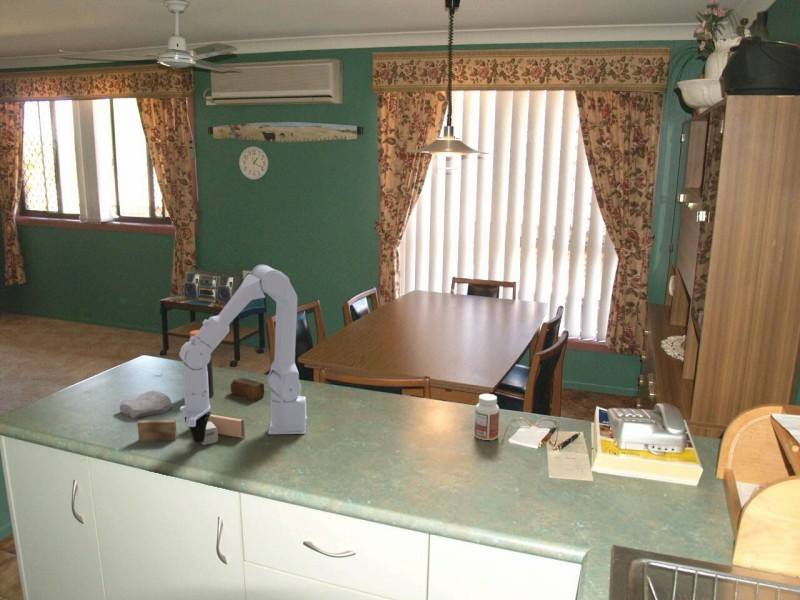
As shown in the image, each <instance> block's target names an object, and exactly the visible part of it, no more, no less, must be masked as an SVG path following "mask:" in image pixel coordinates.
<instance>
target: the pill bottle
mask: <svg viewBox="0 0 800 600" xmlns="http://www.w3.org/2000/svg"><path fill="white" fill-rule="evenodd" d="M497 403H498V397H497V395H495V394H491V393H482V394H479V396H478V403H476V406H475V414H474V415H475V416H474V436H475V437H476V438H477V439H478V438H479V440H480V439H482V440H481V441H484V440H490V441H494V440H496V439H498V436H499V427H500V426H499V424H500V422H499V421H500V407H499V405H498V404H497Z"/></svg>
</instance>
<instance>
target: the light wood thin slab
mask: <svg viewBox="0 0 800 600" xmlns="http://www.w3.org/2000/svg"><path fill="white" fill-rule="evenodd" d="M208 422H212V423H213V424H214V426H215V427H216V428H217V432H218V434H219V435H224V436H225V435H226V436H230V437H236V438H245V437H246V435H245V434H246V432H245V430H246V429H245V419H244V418H242V419H241V418H234V417H229V416H223V415H216V414H211V415H210V417H209V419H208ZM187 428H188V429H190V428H189V427H187Z"/></svg>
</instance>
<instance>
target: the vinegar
mask: <svg viewBox="0 0 800 600" xmlns="http://www.w3.org/2000/svg"><path fill="white" fill-rule="evenodd" d="M199 330H200V329H194V330H191V331H189V339H190V338H191V337H192V336H193V337H194V336H195V335H196V333H197V332H198V331H199ZM212 355H213V352H211V358H210V362H209V363H208V364H207V371H208V386H209V399H210V398H212V397H213V396H214V395H215V394H214V374H213V373H214V371H213V356H212Z"/></svg>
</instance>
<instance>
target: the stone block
mask: <svg viewBox="0 0 800 600" xmlns="http://www.w3.org/2000/svg"><path fill="white" fill-rule="evenodd" d="M172 408H173V404H172V399H171V398H170V397H169V396H167V394H165V393H164V392H162V391H159V390H155V389H154V390H152V389H151V390H149V391H146V392H144V393H141V394H140V395H139V396H136V397H134V398H130V399H128V398H125V399H123V400H122V401H121V402H120V404H119V411H120V413H122V414H123V415H126V416H129V417H130V418H131V419H138V418H139V419H140V418H143V417H144V418H145V417H148V416H154V415H157V414H162V413H166V412H167V411H169V410H171V409H172Z"/></svg>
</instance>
